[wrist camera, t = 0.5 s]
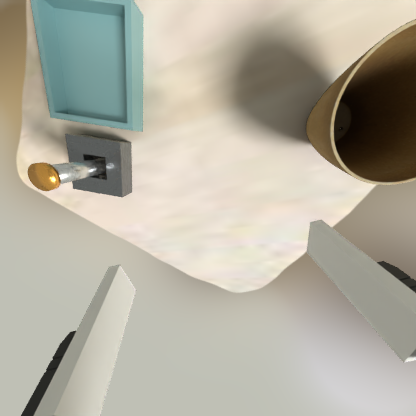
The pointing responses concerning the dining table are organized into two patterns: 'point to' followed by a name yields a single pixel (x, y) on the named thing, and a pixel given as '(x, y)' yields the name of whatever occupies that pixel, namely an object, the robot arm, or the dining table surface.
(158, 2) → the dining table surface
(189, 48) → the dining table surface
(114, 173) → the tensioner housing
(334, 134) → the plant pot
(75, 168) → the pin
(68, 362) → the robot arm
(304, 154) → the dining table surface
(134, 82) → the tray
